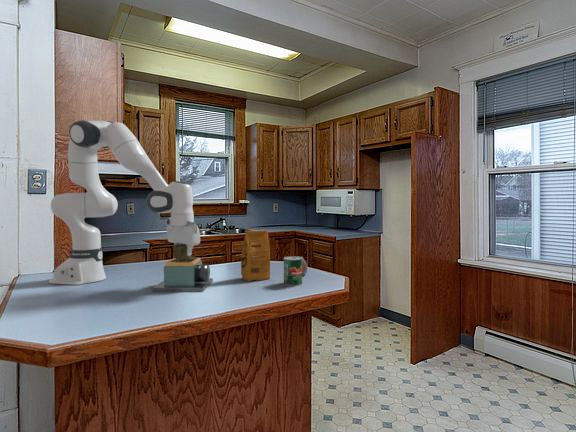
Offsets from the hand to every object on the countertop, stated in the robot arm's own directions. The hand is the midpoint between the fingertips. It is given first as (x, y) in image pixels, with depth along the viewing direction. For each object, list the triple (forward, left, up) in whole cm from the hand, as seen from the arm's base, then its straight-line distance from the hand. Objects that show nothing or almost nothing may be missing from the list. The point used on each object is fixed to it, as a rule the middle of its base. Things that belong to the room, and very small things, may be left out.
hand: (183, 254), depth 147 cm
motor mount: (0, 0, -13) cm, 13 cm away
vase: (+48, +21, -14) cm, 54 cm away
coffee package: (+28, +14, -14) cm, 34 cm away
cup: (0, 0, -4) cm, 4 cm away
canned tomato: (+45, +5, -14) cm, 47 cm away
